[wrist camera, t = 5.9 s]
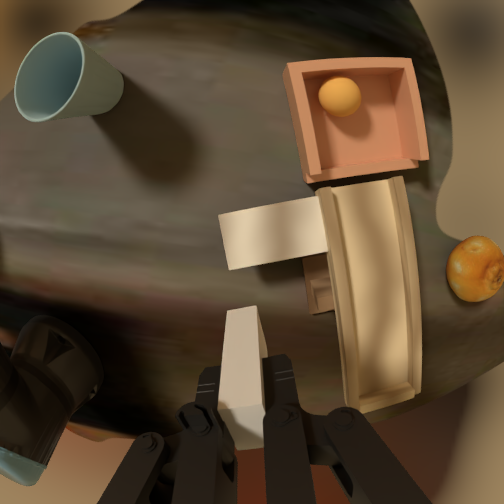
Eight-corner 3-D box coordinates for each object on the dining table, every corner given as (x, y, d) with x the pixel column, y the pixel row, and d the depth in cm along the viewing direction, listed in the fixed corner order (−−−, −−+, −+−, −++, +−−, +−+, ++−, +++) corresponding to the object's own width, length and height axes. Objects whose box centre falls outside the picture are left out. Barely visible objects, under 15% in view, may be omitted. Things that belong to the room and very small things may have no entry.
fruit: (483, 212, 28) (502, 262, 23) (503, 249, 30) (518, 297, 25) (432, 242, 34) (441, 294, 28) (457, 274, 36) (465, 322, 31)
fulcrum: (309, 311, 35) (316, 334, 30) (301, 255, 32) (308, 274, 28) (402, 289, 34) (419, 309, 29) (402, 235, 31) (422, 249, 27)
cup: (136, 51, 25) (89, 20, 15) (133, 118, 27) (81, 112, 17) (76, 65, 25) (19, 47, 15) (73, 128, 27) (13, 130, 17)
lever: (262, 415, 30) (261, 432, 26) (219, 210, 28) (213, 208, 25) (411, 381, 28) (422, 394, 25) (391, 180, 27) (404, 175, 24)
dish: (303, 180, 29) (312, 186, 25) (282, 74, 26) (287, 63, 22) (408, 165, 29) (430, 169, 24) (391, 67, 25) (410, 58, 21)
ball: (324, 87, 22) (311, 71, 24) (326, 126, 25) (314, 107, 27) (368, 83, 21) (351, 68, 24) (367, 122, 24) (351, 103, 27)
